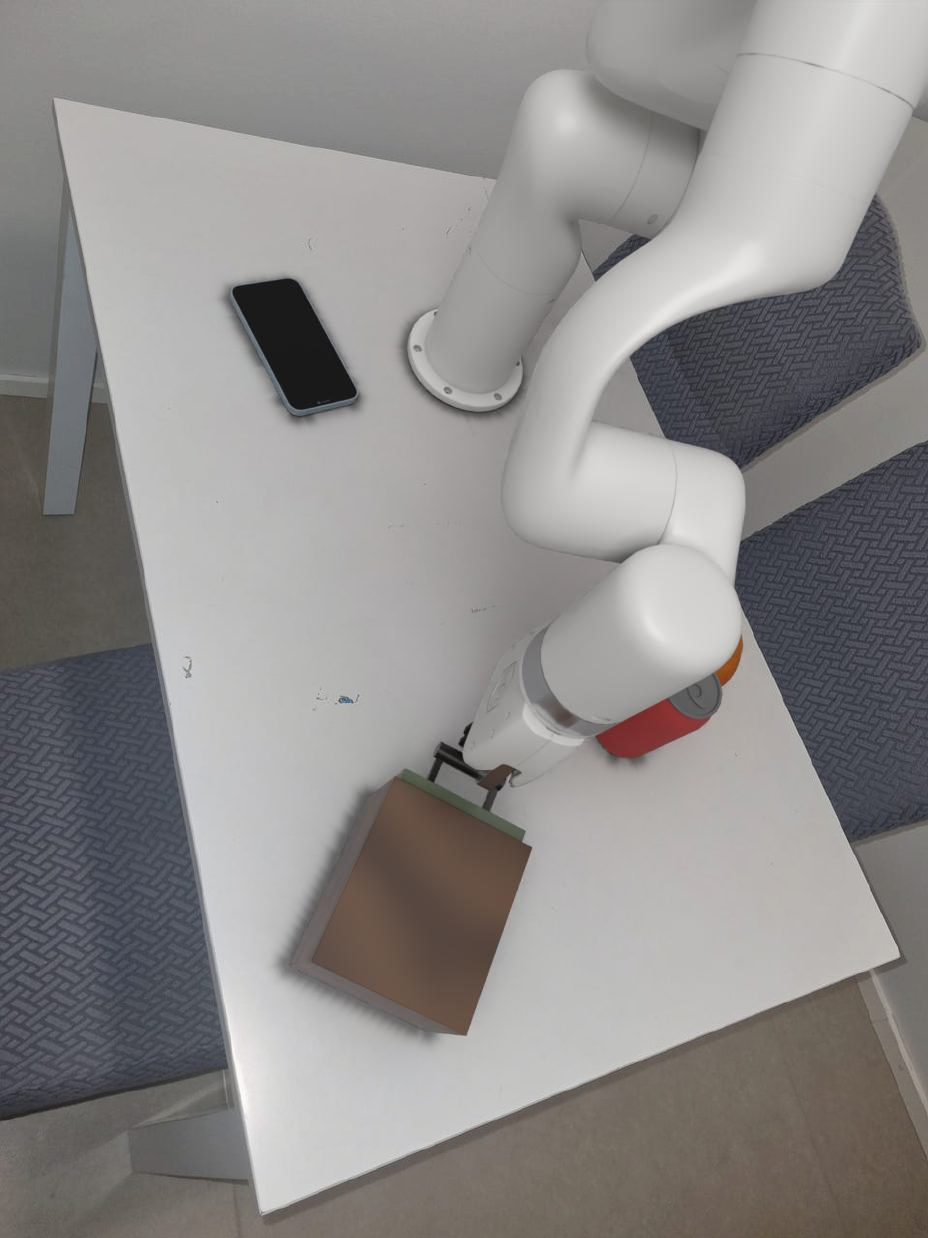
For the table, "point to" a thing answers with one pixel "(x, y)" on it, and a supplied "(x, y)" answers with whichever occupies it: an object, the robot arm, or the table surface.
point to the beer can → (665, 720)
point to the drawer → (456, 761)
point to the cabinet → (414, 909)
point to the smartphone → (293, 345)
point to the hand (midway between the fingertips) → (477, 745)
